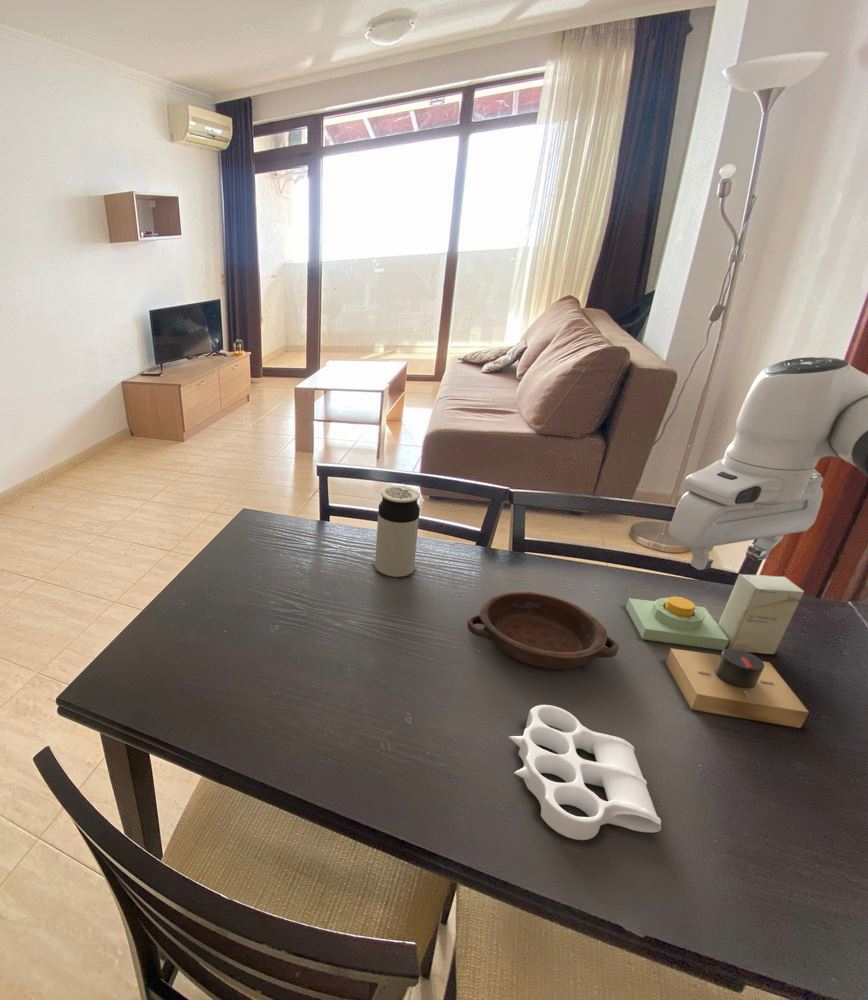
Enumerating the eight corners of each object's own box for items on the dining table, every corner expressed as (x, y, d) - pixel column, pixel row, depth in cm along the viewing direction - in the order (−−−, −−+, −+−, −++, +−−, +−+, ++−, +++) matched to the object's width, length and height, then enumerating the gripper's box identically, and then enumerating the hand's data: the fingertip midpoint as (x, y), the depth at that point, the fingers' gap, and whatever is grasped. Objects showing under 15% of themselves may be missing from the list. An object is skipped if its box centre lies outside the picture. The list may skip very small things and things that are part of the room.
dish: (462, 604, 103) (465, 582, 101) (598, 622, 96) (604, 599, 94) (469, 666, 89) (473, 642, 87) (630, 693, 81) (639, 667, 79)
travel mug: (387, 581, 112) (393, 504, 105) (368, 562, 119) (372, 488, 112) (421, 573, 114) (429, 496, 106) (399, 555, 121) (406, 482, 113)
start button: (687, 606, 92) (690, 598, 92) (696, 619, 89) (699, 610, 89) (661, 603, 94) (664, 595, 93) (669, 615, 91) (672, 607, 90)
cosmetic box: (728, 651, 87) (755, 588, 82) (712, 633, 91) (737, 573, 86) (776, 655, 86) (806, 591, 80) (758, 636, 89) (785, 575, 84)
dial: (709, 664, 81) (717, 644, 79) (747, 670, 79) (756, 650, 78) (722, 684, 77) (731, 664, 76) (762, 691, 76) (771, 670, 74)
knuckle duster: (666, 865, 59) (516, 824, 65) (621, 737, 74) (502, 712, 80) (675, 846, 58) (520, 805, 63) (627, 719, 73) (505, 695, 78)
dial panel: (762, 677, 82) (770, 661, 80) (800, 728, 73) (810, 711, 72) (665, 662, 86) (671, 647, 85) (691, 709, 78) (698, 693, 76)
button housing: (700, 617, 95) (708, 598, 93) (724, 650, 87) (733, 631, 86) (625, 607, 99) (631, 589, 97) (642, 639, 91) (648, 620, 89)
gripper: (799, 460, 78) (765, 542, 84) (675, 478, 76) (648, 561, 82) (853, 476, 73) (812, 563, 78) (720, 496, 70) (688, 584, 76)
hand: (727, 562), depth 80 cm, fingers open, 8 cm apart
